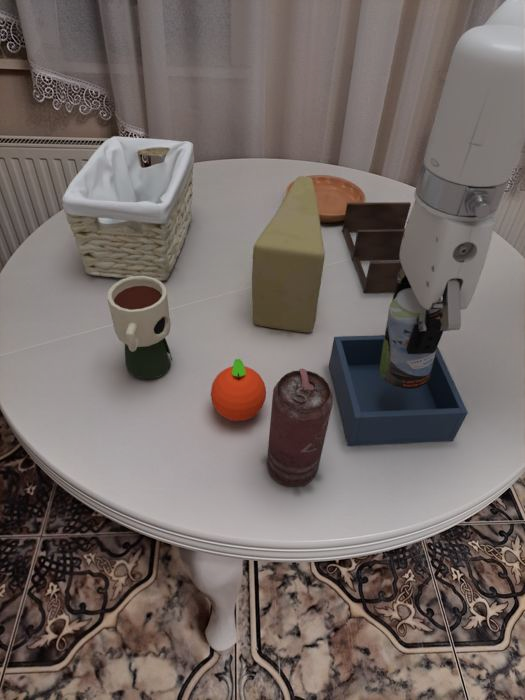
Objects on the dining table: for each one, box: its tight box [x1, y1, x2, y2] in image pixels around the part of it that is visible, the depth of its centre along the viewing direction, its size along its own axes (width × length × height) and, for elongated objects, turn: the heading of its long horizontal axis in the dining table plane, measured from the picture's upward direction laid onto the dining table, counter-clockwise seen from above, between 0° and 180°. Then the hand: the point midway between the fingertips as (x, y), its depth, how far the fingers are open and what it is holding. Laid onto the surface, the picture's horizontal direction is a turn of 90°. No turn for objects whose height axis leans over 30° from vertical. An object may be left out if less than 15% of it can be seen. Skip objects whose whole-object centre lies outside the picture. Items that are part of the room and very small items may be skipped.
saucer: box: [285, 174, 366, 224], centre depth 103 cm, size 16×16×3 cm
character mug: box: [107, 276, 173, 379], centre depth 66 cm, size 11×7×13 cm, turn 177°
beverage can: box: [379, 288, 442, 389], centre depth 59 cm, size 6×7×12 cm
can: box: [266, 368, 334, 487], centre depth 56 cm, size 6×6×14 cm
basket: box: [61, 135, 195, 282], centre depth 87 cm, size 24×16×15 cm
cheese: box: [251, 175, 326, 333], centre depth 80 cm, size 22×10×15 cm, turn 170°
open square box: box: [328, 334, 469, 447], centre depth 66 cm, size 14×14×6 cm
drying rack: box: [341, 201, 412, 294], centre depth 89 cm, size 12×19×6 cm, turn 5°
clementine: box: [210, 358, 267, 422], centre depth 64 cm, size 8×7×7 cm
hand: (411, 329), depth 59 cm, fingers closed on beverage can, 6 cm apart
